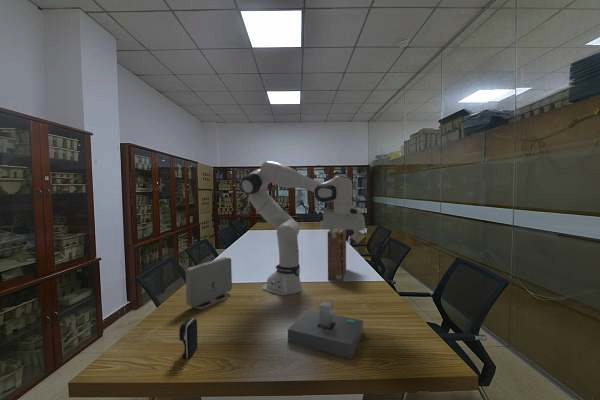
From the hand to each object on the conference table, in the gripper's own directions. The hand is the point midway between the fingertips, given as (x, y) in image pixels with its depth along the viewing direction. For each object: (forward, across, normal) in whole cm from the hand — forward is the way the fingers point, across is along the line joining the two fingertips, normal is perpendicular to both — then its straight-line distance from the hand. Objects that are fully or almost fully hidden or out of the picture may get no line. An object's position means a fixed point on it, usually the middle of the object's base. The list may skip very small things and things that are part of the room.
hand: (343, 238), depth 131 cm
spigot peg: (+32, +2, -30) cm, 44 cm away
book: (+33, -17, +44) cm, 58 cm away
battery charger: (+34, -39, -59) cm, 78 cm away
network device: (+33, -64, -22) cm, 75 cm away
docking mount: (+33, +2, -30) cm, 45 cm away
